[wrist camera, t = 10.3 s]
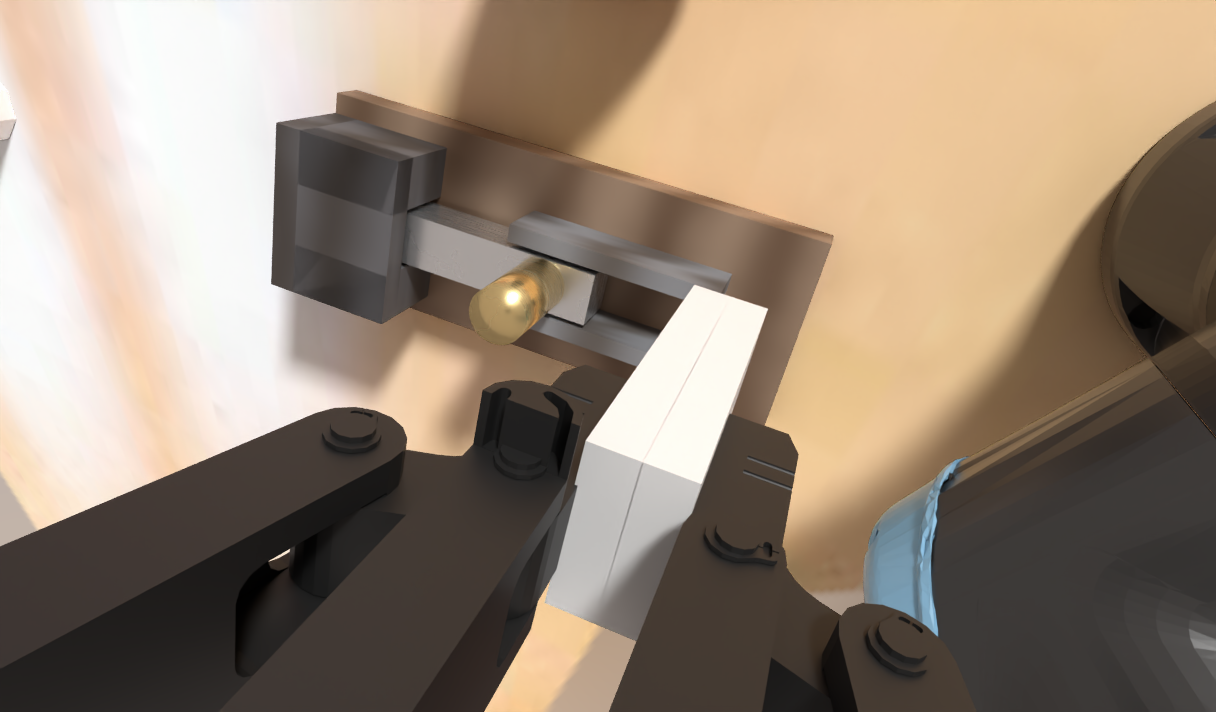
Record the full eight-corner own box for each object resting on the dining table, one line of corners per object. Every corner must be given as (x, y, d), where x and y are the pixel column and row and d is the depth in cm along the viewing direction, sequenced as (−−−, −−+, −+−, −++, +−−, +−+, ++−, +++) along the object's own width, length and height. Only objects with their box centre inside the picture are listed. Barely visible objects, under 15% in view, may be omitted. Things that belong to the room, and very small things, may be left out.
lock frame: (833, 235, 43) (826, 272, 36) (765, 418, 48) (748, 478, 42) (356, 90, 48) (277, 100, 42) (343, 269, 54) (270, 302, 47)
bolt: (611, 261, 45) (558, 308, 37) (600, 308, 46) (546, 363, 38) (366, 180, 47) (272, 209, 40) (363, 227, 49) (270, 263, 41)
